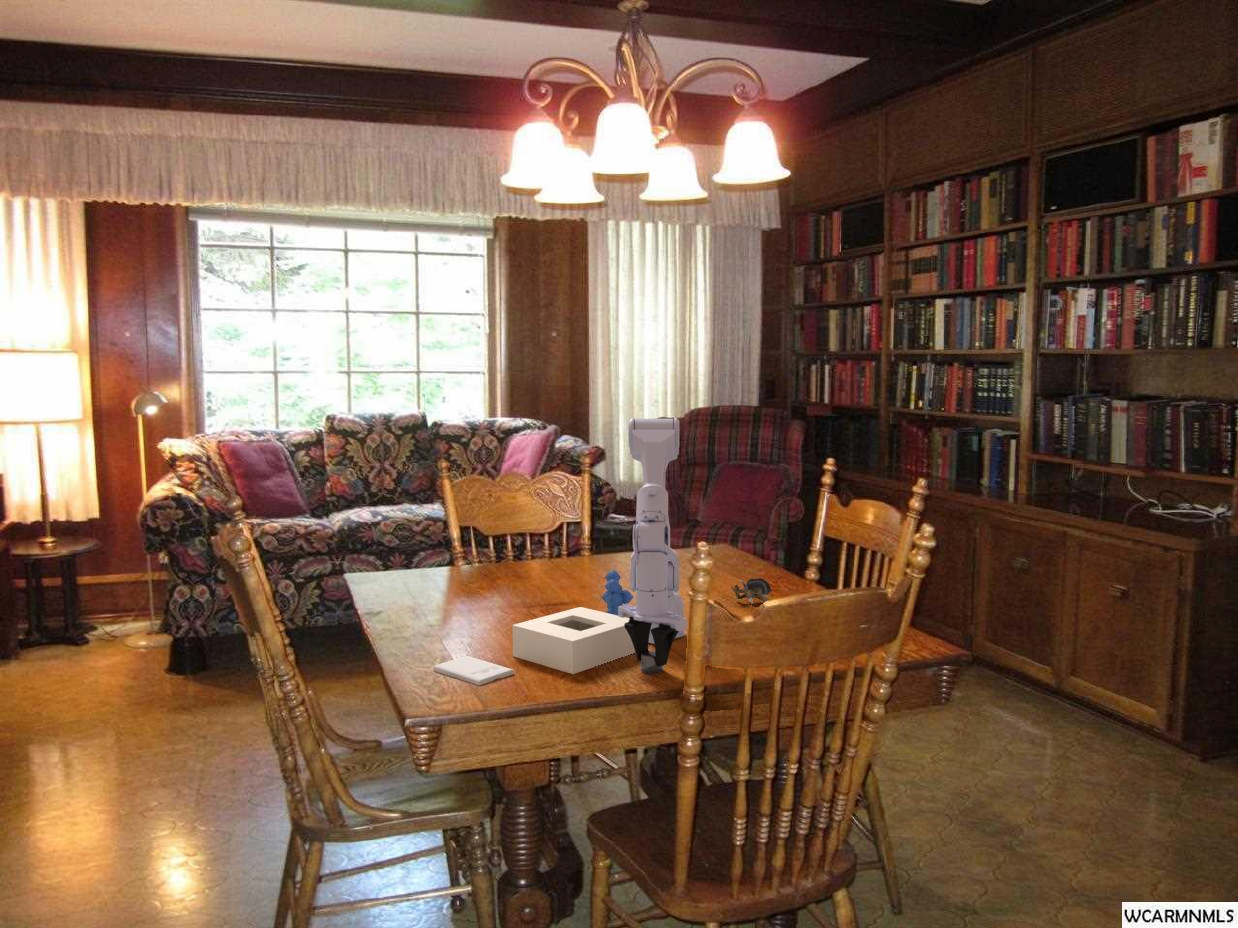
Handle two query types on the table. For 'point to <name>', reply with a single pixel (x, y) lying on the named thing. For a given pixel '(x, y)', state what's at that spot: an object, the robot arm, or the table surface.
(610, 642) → the box
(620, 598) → the grapes
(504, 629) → the table surface
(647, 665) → the dark grey rounded piece
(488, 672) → the external hard drive
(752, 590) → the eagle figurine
